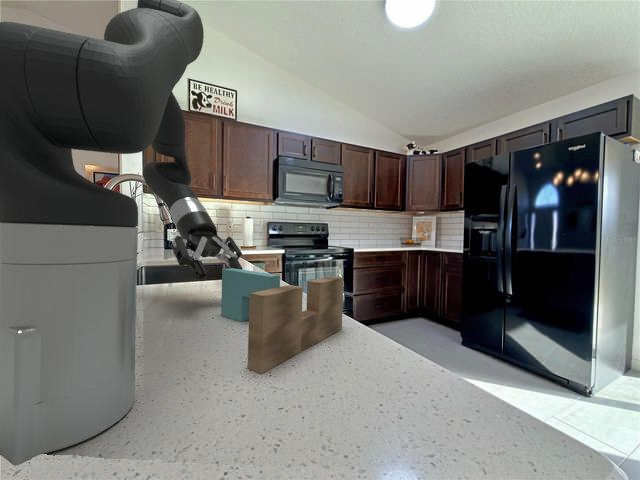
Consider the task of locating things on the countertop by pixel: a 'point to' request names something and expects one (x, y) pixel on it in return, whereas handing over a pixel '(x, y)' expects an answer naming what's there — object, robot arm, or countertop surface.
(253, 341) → the u-shaped wooden block
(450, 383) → the countertop surface
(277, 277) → the teal l-shaped piece
